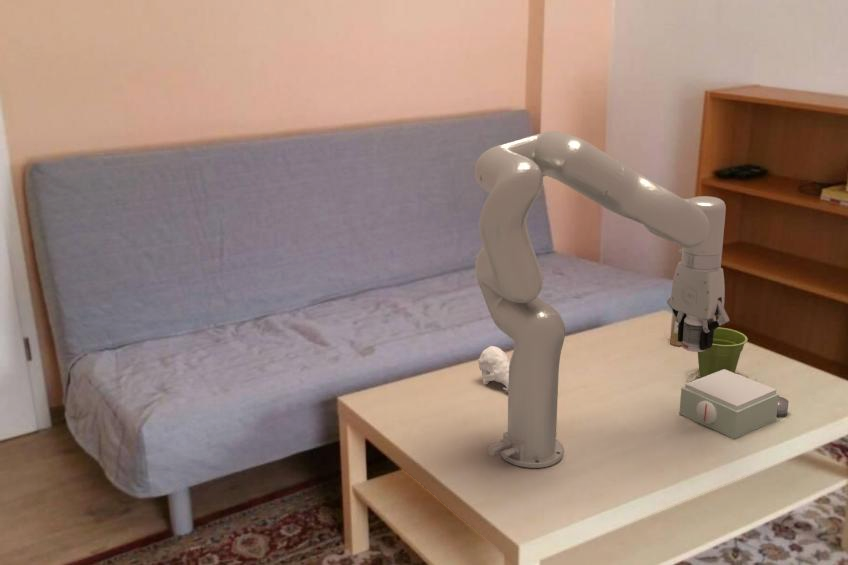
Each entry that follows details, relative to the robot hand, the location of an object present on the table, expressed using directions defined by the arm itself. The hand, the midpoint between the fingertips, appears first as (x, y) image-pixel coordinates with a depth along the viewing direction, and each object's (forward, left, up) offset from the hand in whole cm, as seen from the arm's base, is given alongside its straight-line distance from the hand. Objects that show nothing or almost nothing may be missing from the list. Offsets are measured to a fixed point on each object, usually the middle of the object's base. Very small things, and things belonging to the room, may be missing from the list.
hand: (694, 343), depth 181 cm
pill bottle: (0, 0, -1) cm, 1 cm away
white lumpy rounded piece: (-20, +37, -18) cm, 46 cm away
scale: (+9, -3, -18) cm, 20 cm away
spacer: (+19, -8, -18) cm, 27 cm away
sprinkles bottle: (+33, +30, -18) cm, 48 cm away
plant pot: (+22, +10, -18) cm, 30 cm away
